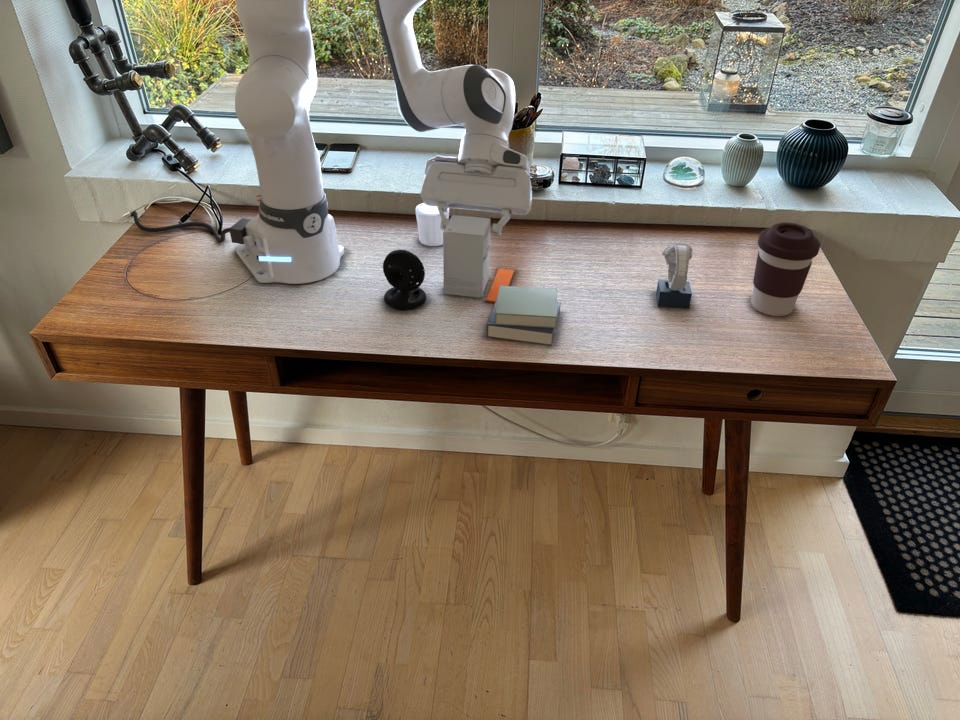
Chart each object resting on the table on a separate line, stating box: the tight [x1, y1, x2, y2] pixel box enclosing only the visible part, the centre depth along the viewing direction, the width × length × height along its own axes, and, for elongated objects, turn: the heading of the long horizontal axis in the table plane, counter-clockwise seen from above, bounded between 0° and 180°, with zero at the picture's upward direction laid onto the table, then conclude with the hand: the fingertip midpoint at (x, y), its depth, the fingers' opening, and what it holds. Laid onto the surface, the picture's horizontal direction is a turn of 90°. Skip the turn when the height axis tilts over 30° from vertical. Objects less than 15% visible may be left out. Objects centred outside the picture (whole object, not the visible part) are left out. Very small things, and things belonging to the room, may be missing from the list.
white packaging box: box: [442, 214, 491, 299], centre depth 141 cm, size 7×7×13 cm
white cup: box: [415, 202, 450, 247], centre depth 158 cm, size 7×7×7 cm
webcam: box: [382, 249, 427, 312], centre depth 138 cm, size 8×8×10 cm
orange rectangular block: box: [485, 268, 515, 304], centre depth 145 cm, size 12×3×1 cm, turn 168°
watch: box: [655, 242, 694, 310], centre depth 138 cm, size 6×8×11 cm
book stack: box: [486, 285, 561, 346], centre depth 133 cm, size 11×10×5 cm
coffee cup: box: [750, 221, 821, 317], centre depth 136 cm, size 10×10×15 cm
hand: (470, 232), depth 141 cm, fingers open, 8 cm apart
